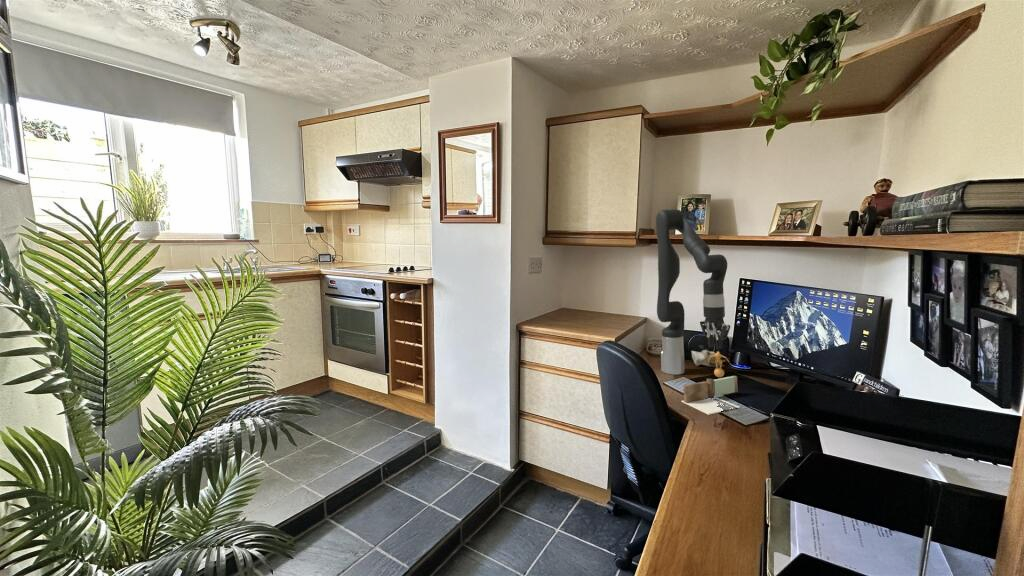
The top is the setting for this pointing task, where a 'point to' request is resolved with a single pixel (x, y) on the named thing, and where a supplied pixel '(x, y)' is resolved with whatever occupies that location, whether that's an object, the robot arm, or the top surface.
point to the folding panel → (725, 385)
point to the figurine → (718, 371)
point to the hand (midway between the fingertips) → (715, 347)
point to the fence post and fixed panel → (699, 391)
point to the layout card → (710, 405)
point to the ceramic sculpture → (705, 358)
